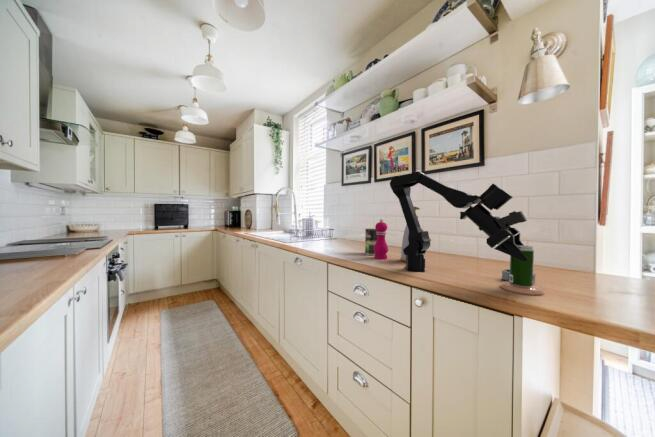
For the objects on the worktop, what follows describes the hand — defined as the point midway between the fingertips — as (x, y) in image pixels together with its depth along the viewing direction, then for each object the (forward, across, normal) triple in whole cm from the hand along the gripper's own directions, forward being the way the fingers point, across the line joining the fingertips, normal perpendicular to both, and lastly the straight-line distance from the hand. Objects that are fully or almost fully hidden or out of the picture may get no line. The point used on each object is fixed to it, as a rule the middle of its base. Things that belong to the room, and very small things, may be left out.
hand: (528, 258), depth 68 cm
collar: (+4, +12, +9) cm, 15 cm away
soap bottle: (-24, +16, +38) cm, 48 cm away
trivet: (+6, 0, +8) cm, 10 cm away
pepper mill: (-34, +12, +48) cm, 60 cm away
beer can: (+5, 0, +7) cm, 9 cm away
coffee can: (-41, +19, +55) cm, 71 cm away
